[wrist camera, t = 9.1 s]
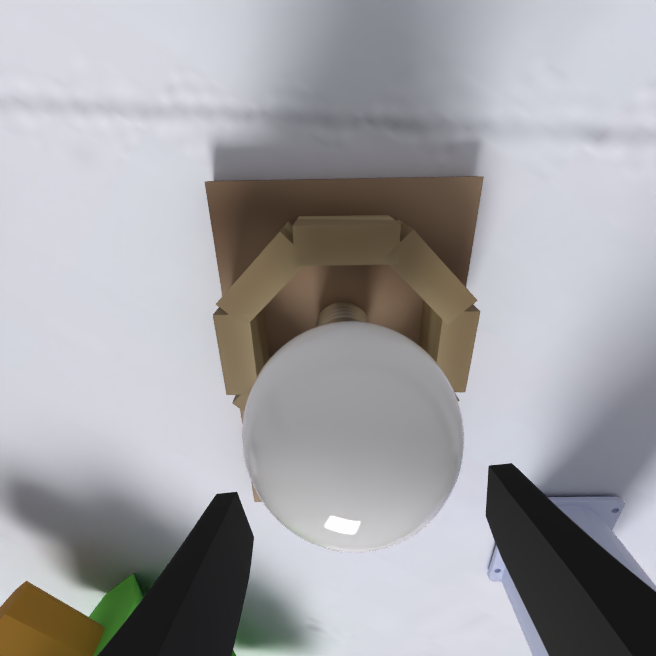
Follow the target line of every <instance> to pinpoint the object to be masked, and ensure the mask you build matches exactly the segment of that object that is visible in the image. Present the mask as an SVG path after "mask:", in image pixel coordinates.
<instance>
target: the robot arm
mask: <svg viewBox="0 0 656 656" xmlns="http://www.w3.org/2000/svg"><path fill="white" fill-rule="evenodd" d="M624 504H625V503H624V501H623V500H622V499H621V498H620V497H547V496H546V495H544V494H543V493H542V492H541V491H540V490H539V489H538V488H537V487H536V486H535V485H534V484H533V483H532V482H531V481H530V480H529V479H528V478H527V477H526V476H525V475H524V474H523V473H522V472H521V471H520V470H519V469H518V468H516V467H515V466H514V465H513V464H512V463H510V464H501V465H491V466H489V471H488V487H487V503H486V518H487V520H488V523H489V526H490V529H491V532H492V534H493V537H494V540H495V542H496V547H495V550H494V553H493V557H492V560H491V563H490V567H489V570H488V573H487V575H488V578H489V580H491V581H502V584H503V586H504V588H505V591H506V593H507V596H508V598H509V600H510V603H511V605H512V607H513V610H514V612H515V615H516V617H517V619H518V622H519V624H520V626H521V629H522V631H523V634H524V636H525V638H526V641H527V643H528V645H529V648H530V650H531V653H532V655H533V656H656V586H655V584H654V583H653V582H652V581H651V579H650V578H649V577H648V576H647V574H646V573H645V572H644V570H643V569H642V568H641V567H640V565H639V564H638V563H637V562H636V560H635V559H634V558H633V557H632V555H631V554H630V553H629V552H628V550H627V549H626V548H625V546H624V545H623V544H622V543H621V541H620V540H619V539H618V538H617V536H616V535H615V534H614V533H613V531H612V529H613V527H614V525H615V523H616V521H617V519H618V517H619V515H620V513H621V511H622V509H623V507H624ZM253 541H254V536H253V533H252V531H251V528H250V525H249V523H248V520H247V517H246V515H245V512H244V509H243V507H242V504H241V501H240V499H239V496H238V493H237V492H231V493H222V494H217V495H216V496H215V497H214V498H213V500H212V501H211V503H210V504H209V506H208V507H207V509H206V510H205V512H204V513H203V515H202V516H201V517H200V519H199V520H198V522H197V523H196V525H195V526H194V528H193V529H192V531H191V532H190V534H189V535H188V537H187V538H186V540H185V541H184V542H183V544H182V545H181V547H180V548H179V550H178V551H177V552H176V554H175V555H174V557H173V558H172V559H171V561H170V562H169V564H168V565H167V566H166V568H165V569H164V571H163V572H162V573H161V575H160V576H159V578H158V579H157V580H156V582H155V583H154V584H153V586H152V587H151V588H150V590H149V591H148V592H147V594H146V595H145V596H144V597H143V599H142V600H141V601H140V603H139V604H138V605H137V607H136V608H135V609H134V611H133V612H132V613H131V615H130V616H129V617H128V618H127V620H126V621H125V622H124V623H123V625H122V626H121V627H120V628H119V630H118V631H117V632H116V633H115V635H114V636H113V637H112V638H111V640H110V641H109V642H108V643H107V644H106V646H105V647H104V648H103V649H102V650H101V652H100V653H99V654H98V655H97V656H232V651H233V647H234V642H235V638H236V634H237V629H238V625H239V621H240V616H241V612H242V607H243V603H244V598H245V594H246V589H247V585H248V580H249V574H250V566H251V559H252V550H253Z"/></svg>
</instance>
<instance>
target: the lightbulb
mask: <svg viewBox="0 0 656 656" xmlns="http://www.w3.org/2000/svg"><path fill="white" fill-rule="evenodd" d="M242 443H243V452H244V458H245V463H246V467H247V470H248V473H249V476H250V479H251V481H252V484H253V486H254V488H255V490H256V492H257V494H258V495H259V497H260V499H261V500H262V502H263V503H264V505H265V506H266V507H267V509H268V510H269V511H270V512H271V514H272V515H273V516H274V517H275V518H276V519H277V520H278V521H279V522H280V523H281V524H282V525H283V526H285V527H286V528H287V529H288V530H290V531H291V532H292V533H294V534H295V535H297V536H298V537H300V538H302V539H304V540H305V541H308V542H310V543H312V544H314V545H317V546H319V547H322V548H326V549H329V550H334V551H340V552H350V553H361V552H371V551H377V550H381V549H385V548H388V547H391V546H394V545H396V544H398V543H401V542H403V541H405V540H407V539H408V538H410V537H412V536H413V535H415V534H416V533H418V532H419V531H420V530H422V529H423V528H424V527H425V526H426V525H427V524H429V523H430V522H431V521H432V520H433V518H434V517H435V516H436V515H437V514H438V513H439V511H440V510H441V509H442V507H443V506H444V505H445V503H446V501H447V500H448V498H449V496H450V495H451V493H452V491H453V488H454V486H455V484H456V481H457V478H458V475H459V472H460V468H461V464H462V459H463V451H464V430H463V421H462V416H461V411H460V407H459V404H458V401H457V398H456V395H455V393H454V390H453V388H452V386H451V384H450V382H449V380H448V378H447V377H446V375H445V373H444V372H443V371H442V369H441V368H440V366H439V365H438V364H437V363H436V361H435V360H434V359H433V358H432V357H431V356H430V355H429V354H428V353H427V352H426V351H425V350H424V349H423V348H422V347H420V346H419V345H418V344H417V343H415V342H414V341H412V340H411V339H409V338H408V337H406V336H405V335H403V334H401V333H399V332H397V331H395V330H392V329H390V328H387V327H384V326H381V325H377V324H373V323H369V320H368V317H367V315H366V314H365V312H364V311H363V310H362V309H361V308H359V307H358V306H356V305H354V304H351V303H347V302H339V303H334V304H331V305H329V306H328V307H326V308H325V309H324V310H322V312H321V313H320V314H319V316H318V318H317V320H316V325H315V328H312V329H310V330H307V331H305V332H303V333H301V334H299V335H298V336H296V337H294V338H293V339H291V340H290V341H288V342H287V343H286V344H285V345H283V346H282V347H281V348H280V349H279V350H278V351H277V352H276V353H275V354H274V355H273V356H272V357H271V358H270V359H269V360H268V362H267V363H266V364H265V365H264V367H263V368H262V370H261V371H260V373H259V375H258V376H257V378H256V380H255V382H254V384H253V386H252V388H251V391H250V393H249V396H248V399H247V403H246V406H245V411H244V417H243V426H242Z"/></svg>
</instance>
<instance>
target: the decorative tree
mask: <svg viewBox="0 0 656 656" xmlns="http://www.w3.org/2000/svg"><path fill="white" fill-rule="evenodd" d="M142 599H143V596H142V593H141V591H140V588H139V586H138V583H137V581H136V578H135V576H134V573H133V574H132V575H130V576H129V577H128V578H126V579H125V580H124V581H122V582H121V583H120V584H118V585H117V586H116V587H114V588H113V589H112V590H110V591H109V592H108V593H106V595H105V596H104V597H103V599H102V600H101V601H100V603H99V604H98V605H97V607H96V608H95V609H94V611H93V612H92V613H91V615H90V616H89V617H87V616H86V615H84V614H82V613H81V612H79V611H77V610H75V609H74V608H72V607H70V606H69V605H67V604H65V603H63V602H62V601H60V600H58V599H57V598H55V597H53V596H52V595H50V594H48V593H46V592H45V591H43V590H41V589H40V588H38V587H36V586H34V585H33V584H31V583H29V582H28V581H26V582H24V583H23V584H22V585H21V586H20V587H18V588H17V589H16V590H15V591H14V592H13V593H12V595H11V596H10V597H9V598H8V599H7V600H6V601H5V602H4V604H3V605H2V606H1V607H0V656H97V655H98V654H99V653H100V652H101V650H102V649H103V648H104V647H105V646H106V644H107V643H108V642H109V641H110V640H111V638H112V637H113V636H114V635H115V633H116V632H117V631H118V630H119V628H120V627H121V626H122V625H123V623H124V622H125V621H126V620H127V618H128V617H129V616H130V615H131V613H132V612H133V611H134V609H135V608H136V607H137V605H138V604H139V603H140V601H141V600H142ZM232 656H236V655H235V653H234V650H233V651H232Z"/></svg>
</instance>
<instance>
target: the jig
mask: <svg viewBox="0 0 656 656" xmlns="http://www.w3.org/2000/svg"><path fill="white" fill-rule="evenodd" d="M482 183H483V177H478V176H466V177H410V178H355V179H299V180H243V181H207V182H205V187H206V193H207V200H208V206H209V213H210V219H211V225H212V232H213V238H214V245H215V251H216V257H217V264H218V270H219V277H220V283H221V290H222V298H221V299H220V300H219V301H218V302H217V303H216V305H217V306H219V308H218V309H217V311H216V312H215V313H214V314H213V319H214V325H215V330H216V336H217V342H218V348H219V353H220V359H221V365H222V371H223V377H224V382H225V388H226V394H227V395H236V396H235V398H234V400H233V404H234V405H236V406H237V407H238V408H240V412H241V418H242V424H243V417H244V411H245V406H246V403H247V399H248V396H249V393H250V391H251V388H252V386H253V384H254V382H255V380H256V378H257V376H258V375H259V373H260V371H261V370H262V368H263V367H264V365H265V364H266V363H267V362H268V360H269V359H270V358H271V357H272V356H273V355H274V354H275V353H276V352H277V351H278V350H279V349H280V348H281V347H282V346H283V345H285V344H286V343H287V342H288V341H290V340H291V339H293V338H294V337H296V336H298V335H299V334H301V333H303V332H305V331H307V330H310V329H312V328H315V325H316V320H317V318H318V316H319V314H320V313H321V312H322V310H324V309H325V308H326V307H328V306H329V305H331V304H334V303H339V302H347V303H351V304H354V305H356V306H358V307H359V308H361V309H362V310H363V311H364V312H365V314H366V315H367V317H368V320H369V323H373V324H377V325H381V326H384V327H387V328H390V329H392V330H395V331H397V332H399V333H401V334H403V335H405V336H406V337H408V338H409V339H411V340H412V341H414V342H415V343H417V344H418V345H419V346H420V347H422V348H423V349H424V350H425V351H426V352H427V353H428V354H429V355H430V356H431V357H432V358H433V359H434V360H435V361H436V363H437V364H438V365H439V366H440V368H441V369H442V371H443V372H444V373H445V375H446V377H447V378H448V380H449V382H450V384H451V386H452V388H453V390H454V393H455V392H465V391H466V385H467V380H468V374H469V369H470V364H471V358H472V353H473V348H474V342H475V337H476V331H477V326H478V321H479V315H480V311H479V310H478V309H477V308H476V307H475V306H474V305H473V304H474V303H475V302H476V301H477V299H476V298H475V297H474V296H473V295H472V294H471V293H470V292H469V291H468V289H467V288H466V282H467V276H468V270H469V264H470V258H471V252H472V245H473V239H474V233H475V227H476V221H477V214H478V208H479V202H480V196H481V190H482ZM455 395H456V394H455ZM456 398H457V401H459V399H458V397H457V396H456ZM251 482H252V481H251ZM252 489H253V495H254V501H255V502H262V500H261V499H260V497H259V495H258V494H257V492H256V490H255V488H254V486H253V484H252Z"/></svg>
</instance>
